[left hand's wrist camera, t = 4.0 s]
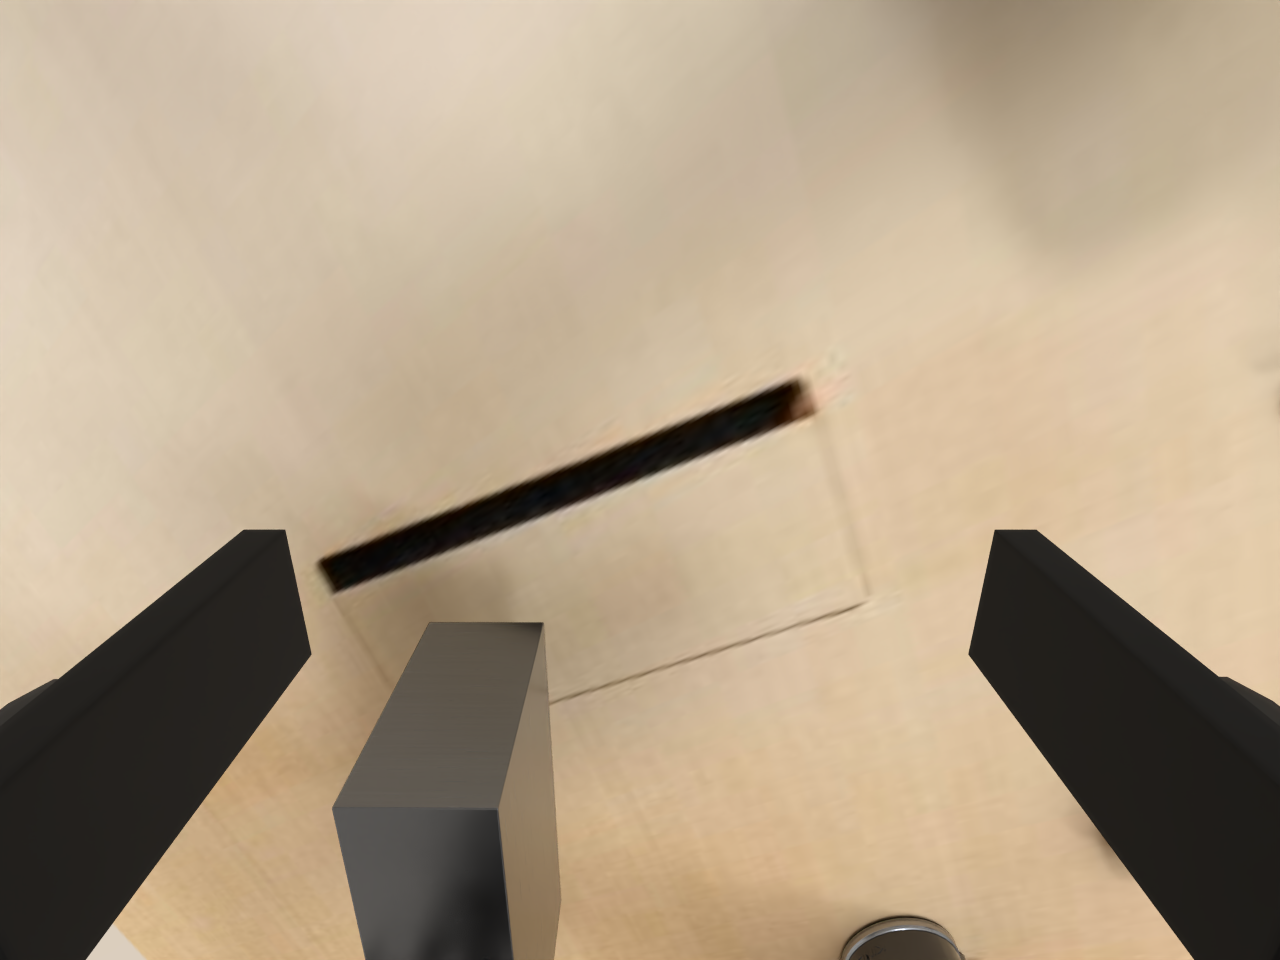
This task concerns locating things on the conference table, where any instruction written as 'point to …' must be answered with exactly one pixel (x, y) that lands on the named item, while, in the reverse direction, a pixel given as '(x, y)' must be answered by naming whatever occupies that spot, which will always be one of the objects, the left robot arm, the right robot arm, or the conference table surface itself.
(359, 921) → the box
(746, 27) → the conference table surface
